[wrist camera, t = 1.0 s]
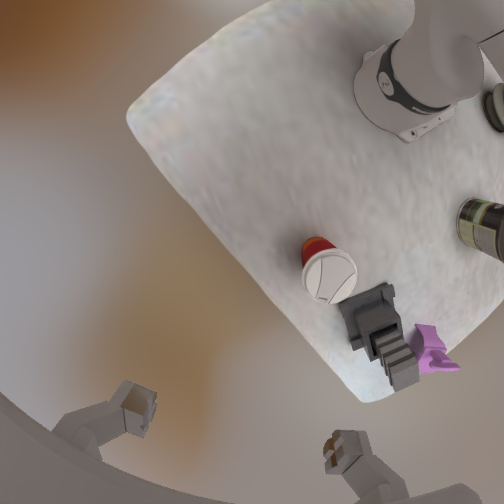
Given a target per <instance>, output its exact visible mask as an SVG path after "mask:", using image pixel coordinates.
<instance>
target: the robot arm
mask: <svg viewBox="0 0 504 504" xmlns="http://www.w3.org/2000/svg"><path fill="white" fill-rule="evenodd" d="M414 3H415V15H414V20H413V23H412V25H411V26H410V28H409V29H408V31H407V32H406V33H405V35H404V36H403V37H402V38H401V39H398V40H396V41H395V42H393V43H392V44H390V45H389V46H386V45H382V46H381V47H380V48H379V49H377V50H376V51H368V52H366V53H365V54H364V56H363V63H362V66H361V68H360V69H359V71H358V72H357V74H356V76H355V79H354V95H355V98H356V101H357V103H358V105H359V107H360V109H361V110H362V112H363V113H364V114H365V116H366V117H367V118H368V119H369V120H370V121H371V122H373V123H374V124H375V125H377V126H379V127H380V128H382V129H385V130H387V131H390V132H393V133H395V134H396V135H397V136H398V137H399V138H400V139H402V140H403V141H404V142H406V143H410V142H412V141H414V140H416V139H417V138H419V137H420V136H422V135H424V134H425V133H427V132H429V131H430V130H432V129H433V128H435V127H437V126H438V125H440V124H441V123H443V122H445V121H446V120H448V119H450V118H451V117H453V116H454V114H455V107H454V106H456V105H457V102H459V101H462V100H465V99H468V98H471V97H473V96H474V95H476V94H477V93H478V92H479V90H480V89H481V86H482V84H483V78H484V62H483V58H482V55H481V51H480V49H481V50H482V51H483V53H484V54H485V55H486V57H487V58H488V60H489V61H490V62H491V64H492V65H493V67H494V68H495V70H496V71H497V73H498V74H499V76H500V78H501V79H502V81H503V82H504V0H414ZM479 47H480V48H479ZM411 132H413V135H412V134H411ZM156 398H157V392H155V391H152V390H150V389H147V388H145V387H143V386H140V385H138V384H135V383H133V382H130V381H128V380H124V381H123V382H122V384H121V385H120V386H119V388H118V389H117V391H116V392H115V394H114V395H113V397H112V398H111V400H110V401H109V402H108V401H104V402H101V403H98V404H95V405H92V406H89V407H86V408H83V409H80V410H77V411H73V412H70V413H67V414H65V415H64V416H63V417H62V418H61V420H60V421H59V422H58V423H57V425H56V426H55V427H54V429H53V430H52V431H49V430H48V429H46V428H45V427H43V426H42V425H41V424H39V423H38V422H36V421H35V420H34V419H32V418H31V417H30V416H28V415H27V414H26V413H25V412H23V411H22V410H21V409H20V408H18V407H17V406H16V405H15V404H14V403H12V402H11V401H10V400H9V399H8V398H6V397H5V396H4V395H3V394H2V393H1V392H0V504H234V503H228V502H222V501H217V500H212V499H208V498H203V497H199V496H195V495H191V494H187V493H184V492H180V491H177V490H174V489H170V488H167V487H164V486H161V485H158V484H155V483H152V482H149V481H147V480H144V479H141V478H139V477H136V476H134V475H131V474H129V473H127V472H124V471H122V470H119V469H118V468H115V467H113V466H111V465H109V464H107V463H105V462H103V461H102V457H101V454H100V451H99V448H98V447H99V446H101V445H103V444H105V443H107V442H109V441H111V440H113V439H115V438H117V437H118V436H120V435H122V434H124V433H126V432H128V433H131V434H133V435H136V436H139V437H142V438H144V436H145V434H146V432H147V430H148V423H149V422H151V421H152V419H153V417H154V414H155V411H156V405H157V404H156V402H155V400H156ZM323 455H324V457H325V458H326V459H327V461H326V462H325V470H326V474H342V476H343V477H344V479H345V480H346V482H347V483H348V484H349V485H350V487H351V488H352V489H353V490H354V491H355V493H356V494H357V495H358V497H359V498H360V500H359V501H357V502H356V503H355V504H482V502H481V499H480V497H479V495H478V494H477V493H476V492H475V491H473V490H472V489H470V488H469V487H468V486H466V485H464V484H462V483H458V484H454V485H452V486H449V487H446V488H443V489H440V490H437V491H434V492H430V493H427V494H423V495H419V496H416V497H412V498H410V497H409V494H408V491H407V488H406V484H405V481H404V480H403V479H402V478H401V477H400V476H399V475H398V474H396V473H395V472H394V471H393V470H392V469H391V468H390V467H388V466H387V465H386V464H385V463H384V462H383V461H382V460H380V459H379V458H378V457H377V456H376V455H373V453H372V449H371V446H370V443H369V439H368V436H367V433H366V432H365V431H355V430H335V431H334V432H333V433H332V438H330V439H328V440H327V442H326V443H325V445H324V448H323Z"/></svg>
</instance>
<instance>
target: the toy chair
mask: <svg viewBox="0 0 504 504" xmlns="http://www.w3.org/2000/svg"><path fill="white" fill-rule="evenodd" d="M415 326H416V327H417V328H418V330H419V331H420V332H421V334H422V336H423V349H422V351H421V353H420V355H416V354H415V358H416V360H417V361H418V363H419V373H434V372H435V370H438V371H459V370H460V366H458V364H456V363H452V362H451V359H449V358H448V357H447V356H446V355H445V352H446V350H447V349H446V348H445V344H444V343H443V342H442V341H441V339H440V338H439V337H438V335H437V333H436V327H435V326H429V325H421V324H415Z"/></svg>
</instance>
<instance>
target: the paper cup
mask: <svg viewBox="0 0 504 504" xmlns="http://www.w3.org/2000/svg"><path fill="white" fill-rule="evenodd" d="M302 266H303V272H302V285H303V288H304V290H305V292H306V293H307V294H308V296H310V297H311V298H312V299H313V300H315V301H318V302H321V303H328V304H334V303H338V302H340V301H342V300H344V299H345V298H347V297H348V296H349V295H350V294H351V292H352V291H353V289H354V287H355V284H356V281H357V268H356V265H355V262H354V261H353V259H352V258H351V257H350V256H349V255H348V254H347V252H345V251H343V250H341V249H337V248H336V247H335V246H334V245H333V244H331V243H330V242H329V241H328V240H326V239H324V238H322V237H313V238H311V239H309V240H308V241H306V242H305V244H304V245H303V248H302Z"/></svg>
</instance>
